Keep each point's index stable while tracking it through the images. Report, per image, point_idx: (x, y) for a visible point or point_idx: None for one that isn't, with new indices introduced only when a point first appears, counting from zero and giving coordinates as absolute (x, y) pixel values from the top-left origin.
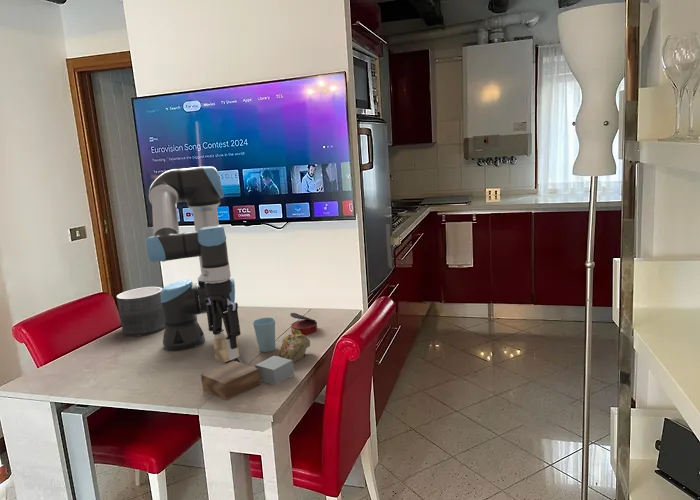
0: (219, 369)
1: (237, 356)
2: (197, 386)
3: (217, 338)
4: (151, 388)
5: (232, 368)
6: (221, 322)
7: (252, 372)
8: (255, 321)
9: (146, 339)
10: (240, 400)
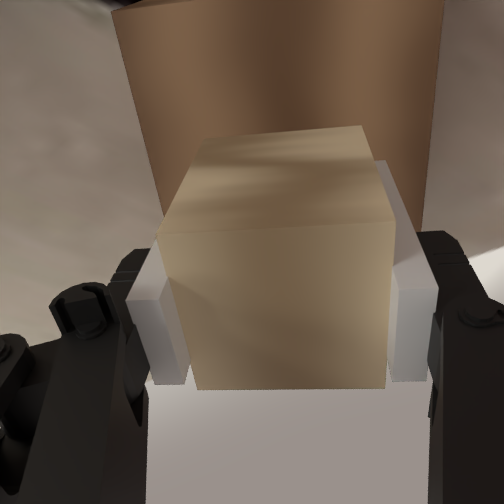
0: None
1: (386, 168)
2: (132, 219)
3: (207, 358)
4: (18, 330)
5: (252, 110)
6: (111, 455)
7: (437, 36)
8: None
9: None
10: (466, 168)
